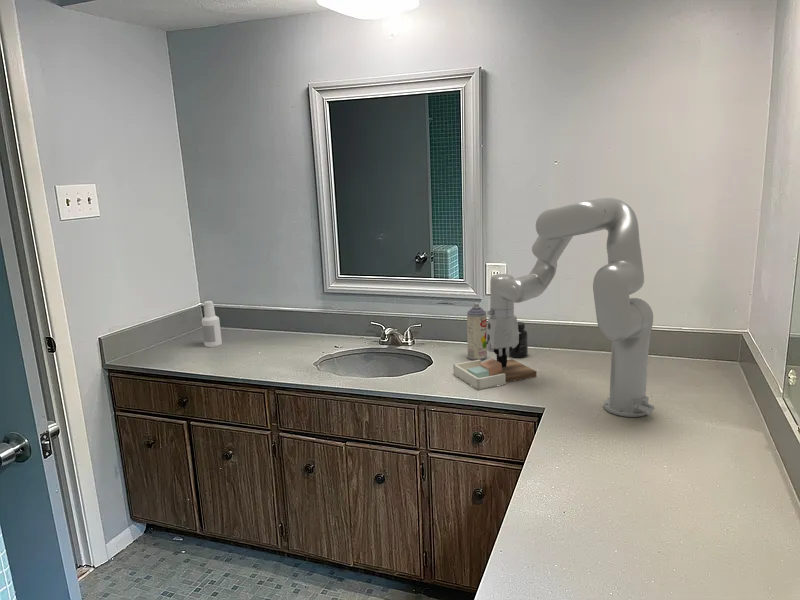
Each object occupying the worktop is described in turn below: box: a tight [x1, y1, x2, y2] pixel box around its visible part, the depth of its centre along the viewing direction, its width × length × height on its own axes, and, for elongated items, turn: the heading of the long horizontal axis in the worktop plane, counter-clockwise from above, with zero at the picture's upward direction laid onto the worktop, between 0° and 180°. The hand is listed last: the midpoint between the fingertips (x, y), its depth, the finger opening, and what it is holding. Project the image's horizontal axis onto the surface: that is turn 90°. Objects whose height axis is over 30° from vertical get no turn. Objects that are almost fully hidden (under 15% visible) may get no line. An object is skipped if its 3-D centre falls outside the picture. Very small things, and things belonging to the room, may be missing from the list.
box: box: [452, 360, 506, 391], centre depth 199 cm, size 16×10×4 cm, turn 23°
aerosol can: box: [466, 302, 488, 361], centre depth 218 cm, size 7×7×20 cm
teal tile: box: [468, 366, 489, 378], centre depth 199 cm, size 5×5×3 cm
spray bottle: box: [201, 300, 223, 348], centre depth 247 cm, size 7×7×18 cm
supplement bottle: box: [508, 321, 529, 359], centre depth 220 cm, size 7×7×12 cm
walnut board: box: [492, 358, 537, 383], centre depth 204 cm, size 14×12×2 cm
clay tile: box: [480, 358, 502, 376], centre depth 201 cm, size 5×5×3 cm
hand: (501, 366), depth 203 cm, fingers closed
